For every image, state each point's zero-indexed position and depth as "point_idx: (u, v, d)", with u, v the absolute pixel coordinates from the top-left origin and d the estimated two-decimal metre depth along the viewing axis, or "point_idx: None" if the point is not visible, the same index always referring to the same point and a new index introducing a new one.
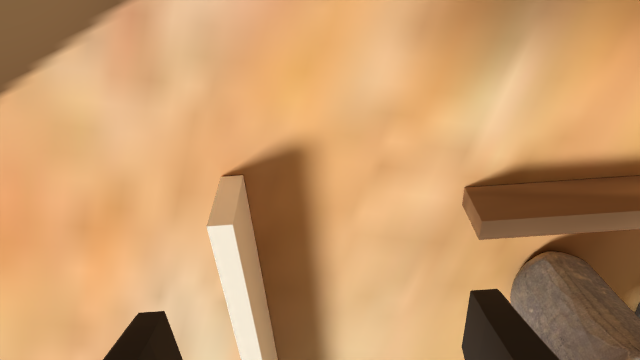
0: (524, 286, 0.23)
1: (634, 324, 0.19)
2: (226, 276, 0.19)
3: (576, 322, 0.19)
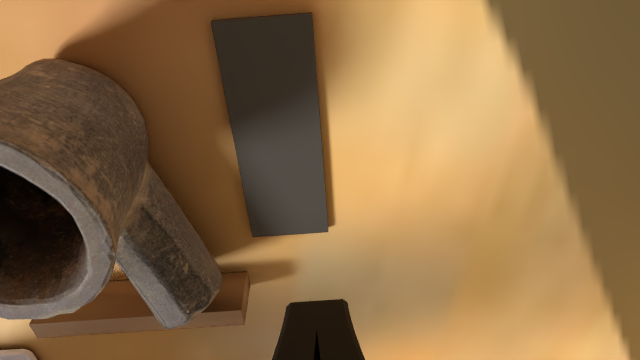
0: None
1: (6, 102, 0.13)
2: None
3: None
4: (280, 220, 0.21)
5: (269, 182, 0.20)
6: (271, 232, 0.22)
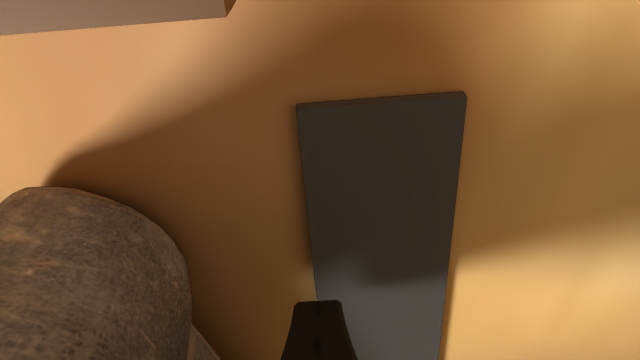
0: None
1: None
2: None
3: None
4: None
5: (360, 324, 0.14)
6: None
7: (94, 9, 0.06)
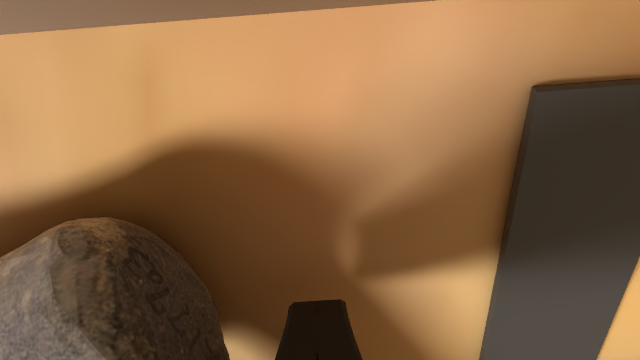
0: None
1: None
2: None
3: None
4: (528, 359, 0.15)
5: (534, 313, 0.13)
6: None
7: None
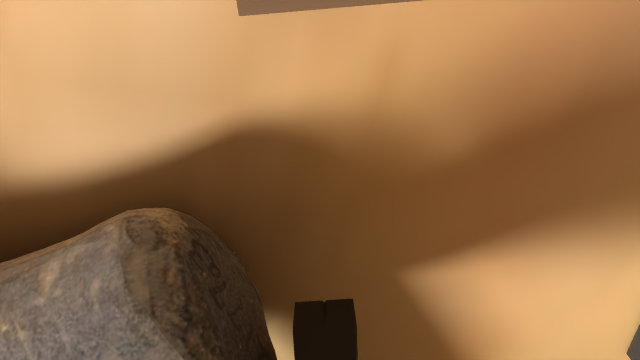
0: None
1: None
2: None
3: None
4: None
5: None
6: None
7: None
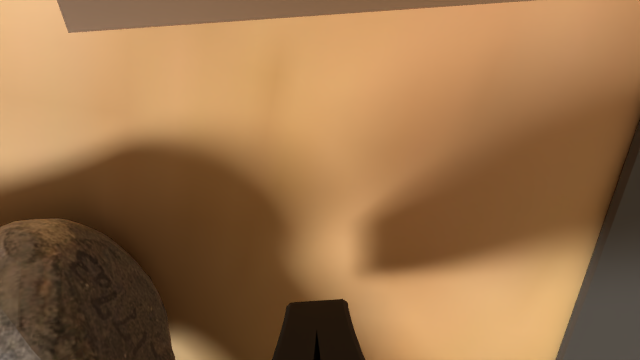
0: None
1: None
2: None
3: None
4: (607, 356, 0.15)
5: (621, 310, 0.13)
6: None
7: None
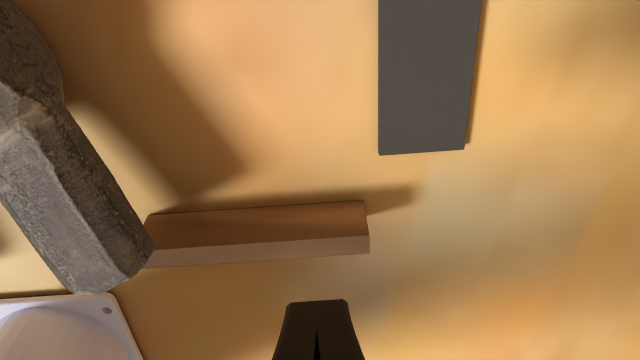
0: None
1: None
2: None
3: None
4: (413, 134, 0.19)
5: (410, 85, 0.18)
6: (400, 149, 0.19)
7: None
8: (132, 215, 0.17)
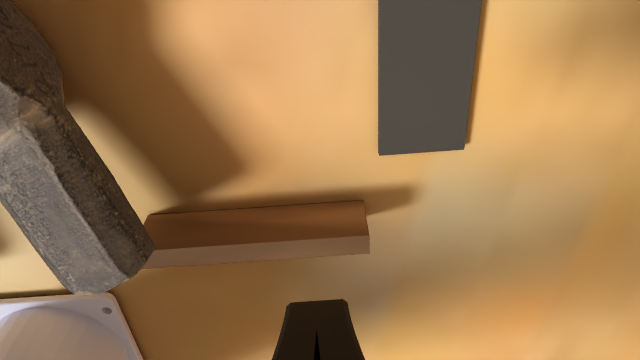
0: None
1: None
2: None
3: None
4: (413, 134, 0.19)
5: (410, 85, 0.18)
6: (400, 149, 0.19)
7: None
8: (132, 215, 0.17)
